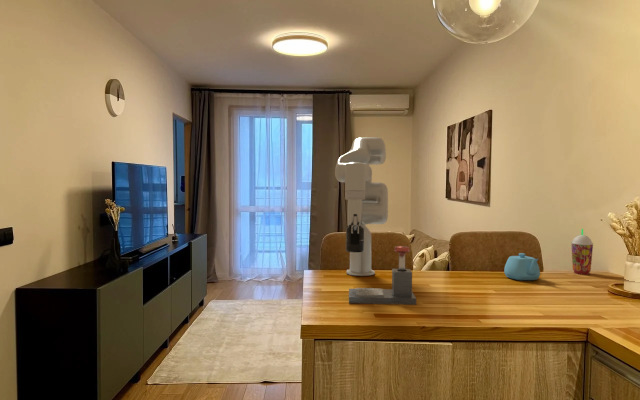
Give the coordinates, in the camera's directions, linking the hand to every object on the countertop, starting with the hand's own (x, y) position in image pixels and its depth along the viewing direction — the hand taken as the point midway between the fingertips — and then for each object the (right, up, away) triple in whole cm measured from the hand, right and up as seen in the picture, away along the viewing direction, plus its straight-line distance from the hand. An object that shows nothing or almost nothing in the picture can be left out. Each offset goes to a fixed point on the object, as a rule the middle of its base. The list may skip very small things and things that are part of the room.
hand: (355, 242), depth 159 cm
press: (+8, -18, -14) cm, 24 cm away
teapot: (+72, -17, +19) cm, 77 cm away
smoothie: (+104, -17, +31) cm, 110 cm away
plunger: (+15, -12, -14) cm, 24 cm away
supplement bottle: (0, -4, 0) cm, 4 cm away
